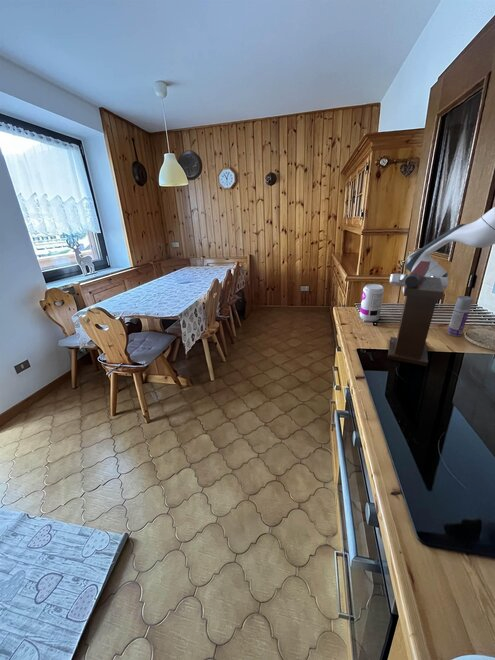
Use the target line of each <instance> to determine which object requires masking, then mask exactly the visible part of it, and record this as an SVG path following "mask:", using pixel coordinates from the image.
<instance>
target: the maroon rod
mask: <svg viewBox="0 0 495 660" xmlns="http://www.w3.org/2000/svg"><path fill="white" fill-rule="evenodd" d="M429 266H430V262H428V261H420V263H419V264H418V265H417V266H416V267H415V269H414V270H413V271H412V272H409V273H408V275H409V276H408V277H407V278H406V280H405V284H406V286H408V287H411V288H412V287H415V286H417V285H418V284H419V283H420V281H421V280H422V278H423V277H424V276H425V274H426V273H427V271H428V270H429Z"/></svg>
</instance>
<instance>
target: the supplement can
mask: <svg viewBox="0 0 495 660" xmlns="http://www.w3.org/2000/svg"><path fill="white" fill-rule="evenodd" d="M384 293H385V289H384V286H383V285H381V284H378V283H368V284H365V286H364V287H363V289H362V296H361V304H360V310H359V318H360V319H361V320H363V321H365V322H371V323H372V322H377V321H378V320H379V319H380V317H381V310H382V305H383V298H384Z"/></svg>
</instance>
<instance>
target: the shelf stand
mask: <svg viewBox="0 0 495 660" xmlns="http://www.w3.org/2000/svg"><path fill="white" fill-rule="evenodd" d="M407 277H408V276H406V278H407ZM405 280H406V279H405ZM444 294H445V291H444V290H443V287H442V283H441V279H440V278H433V277H423V278H422V280H421V281H420V283H419V284H418V285H417V286H415V287H412V288H411V287H408V286H406V284H405V286H404V294H403V296H404V297H405V296H406V297H405V298H404V303H403V307H402V312H401V317H400V322H399V325H398V331H397V335H396V337H393V336H390V338H389V344H388V352H387V357H386V359H387V360H392V361H396V362H402V363H407V364H413V365H417V366H423V367H428V364H429V357H428V356H429V355H428V345H427V344H428V343H427V338H428V334H429V330H430V326H431V324H432V319H433V316H434V312H435V309H436V304H437V301H438V300H443V297H444Z"/></svg>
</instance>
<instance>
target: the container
mask: <svg viewBox="0 0 495 660" xmlns="http://www.w3.org/2000/svg"><path fill="white" fill-rule="evenodd" d="M473 300H474V299H473V297H471V296H469V295H468V296H467V295H459V296H458V297H457V299H456V303H455V305H454V307H453V312H452V314H451V318H450V321H449V324H448V328H447V332H446V333H447V334H448V335H449V336H453V337H461V336H462V334H463V331H464V328H465V326H466V322H467V319H468V316H469V313H470V310H471V308H472V304H473Z"/></svg>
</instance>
